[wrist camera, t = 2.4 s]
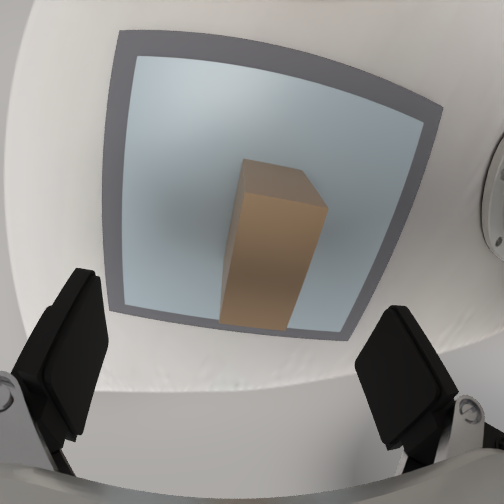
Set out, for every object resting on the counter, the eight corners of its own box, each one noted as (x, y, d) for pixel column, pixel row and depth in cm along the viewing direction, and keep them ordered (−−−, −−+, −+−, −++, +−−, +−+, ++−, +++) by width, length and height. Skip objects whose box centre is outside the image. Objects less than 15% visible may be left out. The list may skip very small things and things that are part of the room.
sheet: (418, 120, 14) (483, 143, 9) (337, 326, 21) (358, 387, 16) (141, 56, 12) (91, 45, 7) (127, 298, 19) (102, 361, 14)
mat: (439, 106, 14) (443, 107, 13) (346, 337, 22) (347, 341, 22) (122, 31, 11) (119, 30, 11) (111, 307, 20) (109, 310, 20)
